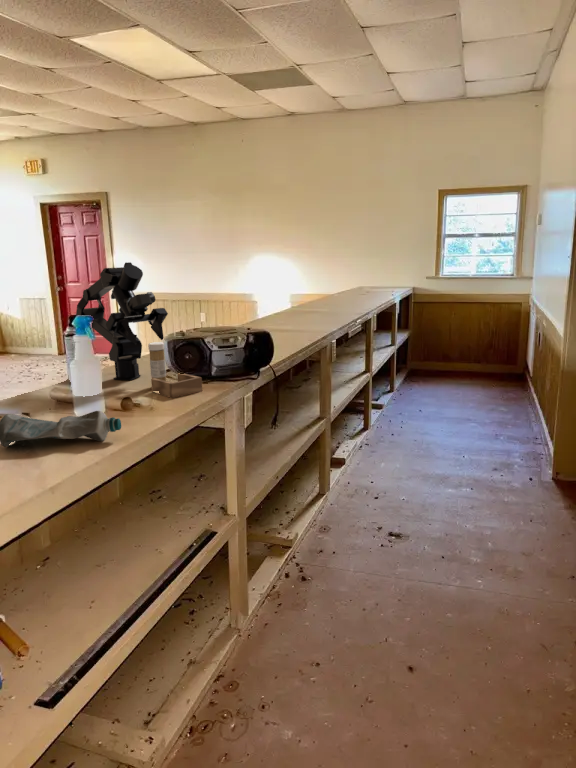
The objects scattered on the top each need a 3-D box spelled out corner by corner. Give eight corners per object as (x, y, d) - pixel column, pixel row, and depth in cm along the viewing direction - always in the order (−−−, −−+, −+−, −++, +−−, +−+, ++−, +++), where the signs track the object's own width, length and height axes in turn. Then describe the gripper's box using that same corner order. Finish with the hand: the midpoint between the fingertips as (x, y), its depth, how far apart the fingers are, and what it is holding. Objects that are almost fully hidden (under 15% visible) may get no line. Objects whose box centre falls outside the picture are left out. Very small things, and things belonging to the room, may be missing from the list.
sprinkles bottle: (162, 384, 170) (159, 341, 167) (169, 386, 167) (166, 342, 164) (149, 386, 168) (145, 342, 164) (155, 389, 164) (152, 344, 161)
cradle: (152, 392, 161) (151, 378, 160) (181, 385, 168) (180, 372, 167) (172, 398, 154) (171, 384, 153) (202, 390, 161) (201, 377, 161)
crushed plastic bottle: (-11, 454, 113) (112, 449, 113) (-15, 420, 112) (108, 414, 112) (19, 438, 126) (129, 433, 126) (15, 407, 125) (126, 402, 125)
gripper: (107, 285, 159) (131, 328, 154) (162, 281, 172) (185, 321, 168) (96, 310, 166) (118, 351, 162) (149, 304, 179) (171, 343, 175)
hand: (149, 341), depth 166 cm, fingers open, 9 cm apart
